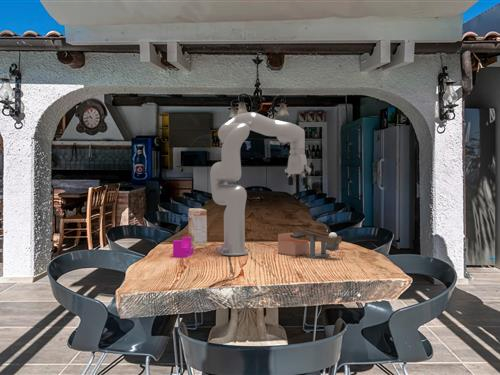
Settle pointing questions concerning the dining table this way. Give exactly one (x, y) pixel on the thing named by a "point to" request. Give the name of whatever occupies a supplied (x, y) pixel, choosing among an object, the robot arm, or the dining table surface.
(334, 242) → the lever
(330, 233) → the ball
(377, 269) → the dining table surface
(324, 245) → the stand
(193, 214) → the coffeecake box
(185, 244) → the toy block
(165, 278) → the dining table surface
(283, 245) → the cup
